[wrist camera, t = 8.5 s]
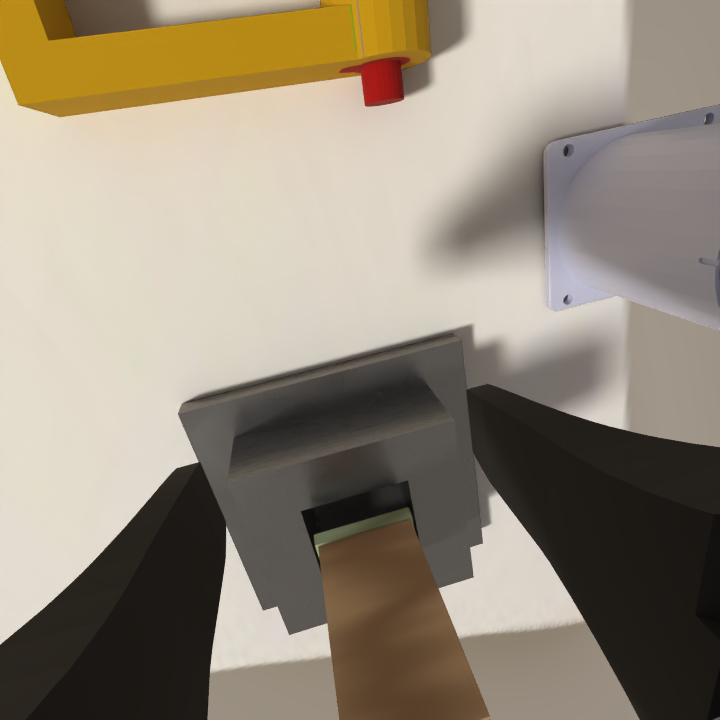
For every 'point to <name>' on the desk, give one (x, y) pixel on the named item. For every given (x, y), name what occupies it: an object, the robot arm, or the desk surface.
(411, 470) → the metal sleeve
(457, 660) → the oak post
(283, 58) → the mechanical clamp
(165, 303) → the desk surface
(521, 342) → the desk surface
